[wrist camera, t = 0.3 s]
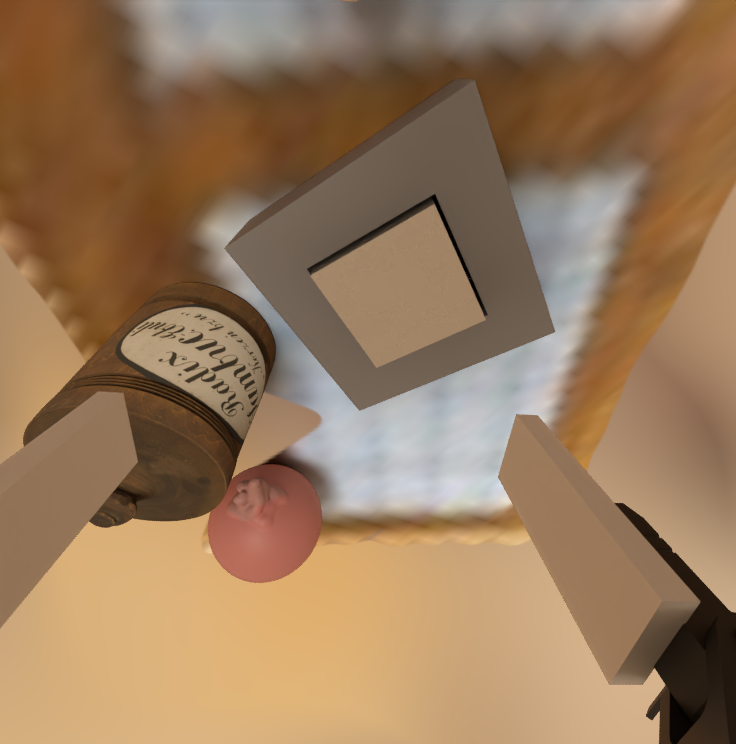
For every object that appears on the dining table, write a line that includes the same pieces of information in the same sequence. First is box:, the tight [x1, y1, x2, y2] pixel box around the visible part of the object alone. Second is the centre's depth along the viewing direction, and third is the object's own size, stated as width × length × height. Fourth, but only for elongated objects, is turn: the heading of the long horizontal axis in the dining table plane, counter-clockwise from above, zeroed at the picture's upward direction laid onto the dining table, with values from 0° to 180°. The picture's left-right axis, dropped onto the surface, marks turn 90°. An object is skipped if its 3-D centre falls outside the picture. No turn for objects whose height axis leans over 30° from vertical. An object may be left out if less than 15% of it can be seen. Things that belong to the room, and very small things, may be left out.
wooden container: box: [23, 283, 275, 528], centre depth 34 cm, size 15×15×22 cm
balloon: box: [208, 464, 322, 583], centre depth 51 cm, size 15×20×15 cm
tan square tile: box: [310, 196, 486, 368], centre depth 31 cm, size 10×10×3 cm
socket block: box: [225, 79, 555, 411], centre depth 33 cm, size 20×20×7 cm
